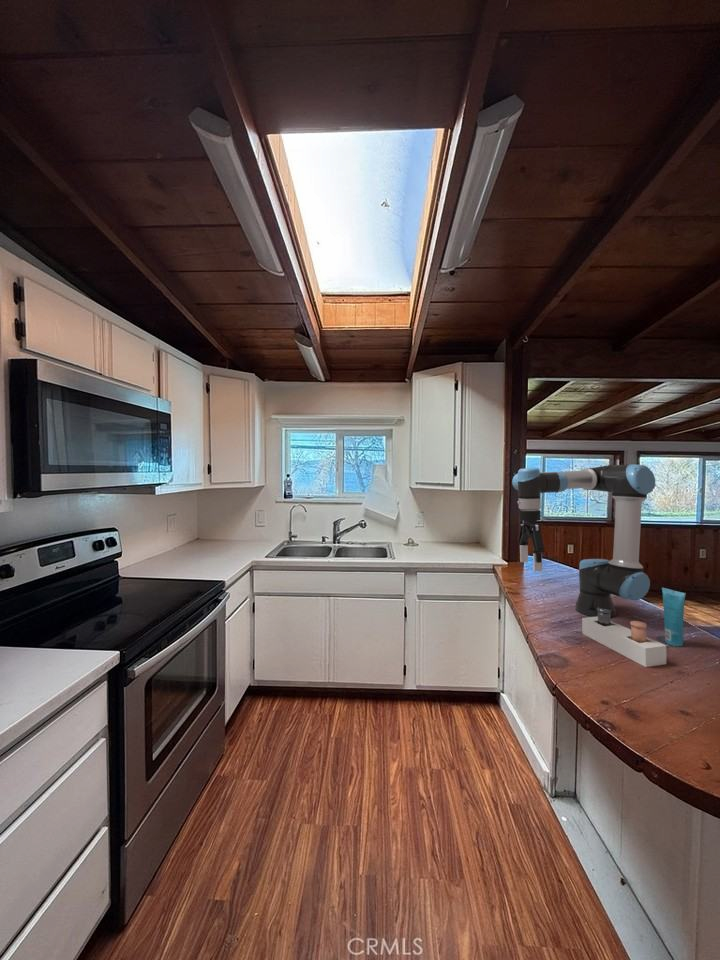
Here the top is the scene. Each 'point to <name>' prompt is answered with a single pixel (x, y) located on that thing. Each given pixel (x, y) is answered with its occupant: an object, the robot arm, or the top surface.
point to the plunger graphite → (604, 616)
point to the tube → (673, 616)
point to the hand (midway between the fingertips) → (530, 566)
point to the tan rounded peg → (638, 631)
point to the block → (625, 642)
